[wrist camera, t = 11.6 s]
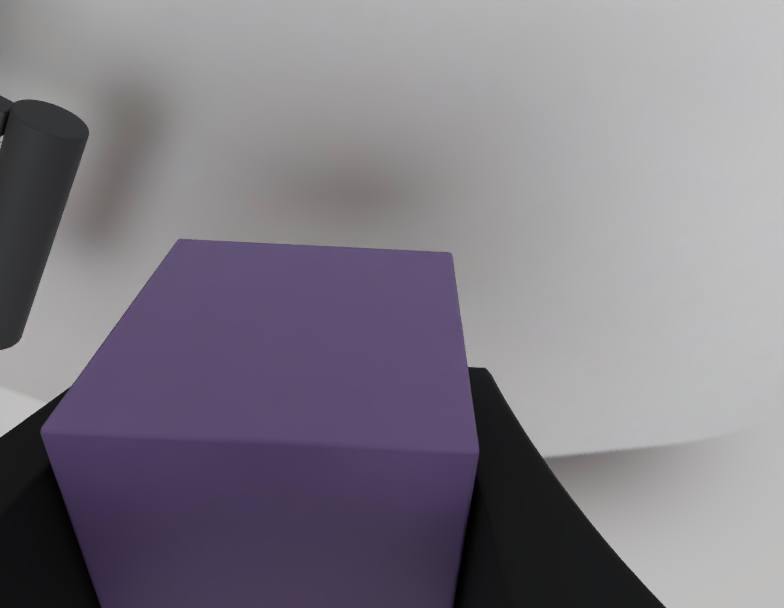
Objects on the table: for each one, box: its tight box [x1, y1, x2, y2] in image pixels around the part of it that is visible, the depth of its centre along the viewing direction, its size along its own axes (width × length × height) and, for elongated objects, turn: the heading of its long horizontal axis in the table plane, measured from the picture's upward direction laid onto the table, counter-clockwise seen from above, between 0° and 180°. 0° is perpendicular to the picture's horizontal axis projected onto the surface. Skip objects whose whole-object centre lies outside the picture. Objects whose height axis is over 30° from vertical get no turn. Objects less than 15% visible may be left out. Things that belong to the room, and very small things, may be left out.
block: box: [40, 239, 479, 608], centre depth 9 cm, size 4×4×4 cm
